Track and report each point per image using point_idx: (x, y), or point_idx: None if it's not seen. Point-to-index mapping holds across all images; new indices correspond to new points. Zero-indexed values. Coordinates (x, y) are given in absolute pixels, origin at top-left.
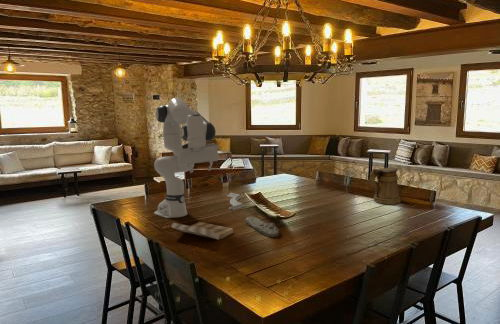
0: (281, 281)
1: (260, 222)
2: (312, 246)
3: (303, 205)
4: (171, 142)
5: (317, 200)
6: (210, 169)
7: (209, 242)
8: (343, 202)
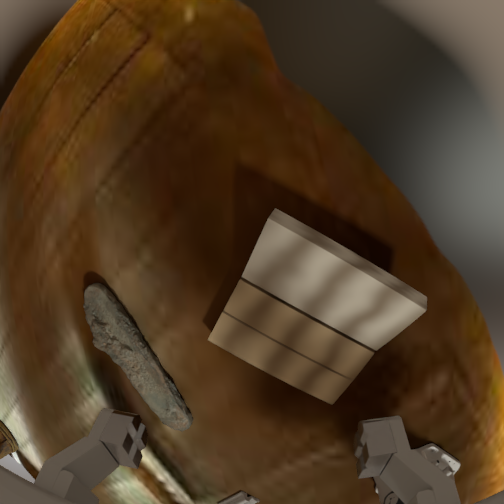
0: (91, 37)
1: (139, 381)
2: (32, 225)
3: None
4: None
5: None
6: (103, 409)
7: None
8: (47, 457)
